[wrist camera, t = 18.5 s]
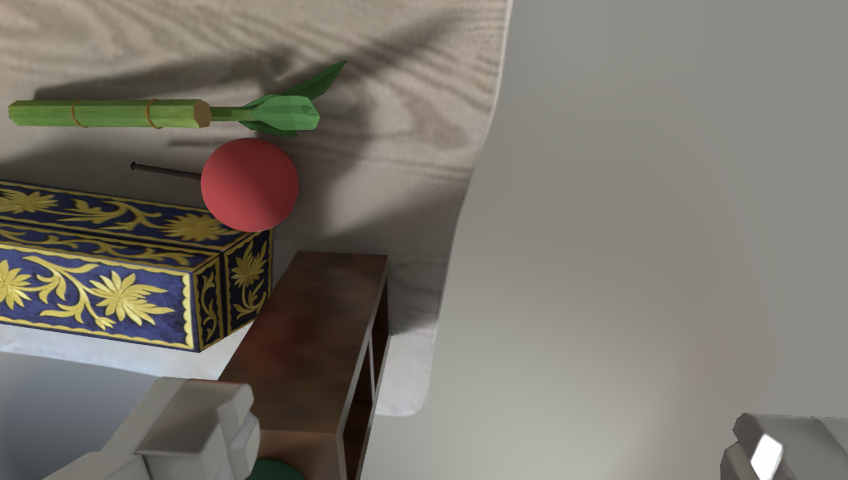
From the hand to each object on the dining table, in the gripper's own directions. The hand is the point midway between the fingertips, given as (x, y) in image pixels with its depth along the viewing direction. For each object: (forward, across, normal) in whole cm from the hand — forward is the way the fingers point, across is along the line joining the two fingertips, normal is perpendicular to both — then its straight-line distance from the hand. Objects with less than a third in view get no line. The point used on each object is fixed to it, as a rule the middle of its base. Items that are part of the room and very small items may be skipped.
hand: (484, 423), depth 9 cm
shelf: (+37, +12, +22) cm, 45 cm away
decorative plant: (+37, +25, +4) cm, 45 cm away
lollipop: (+34, +30, +8) cm, 46 cm away
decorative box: (+37, +34, +18) cm, 53 cm away
